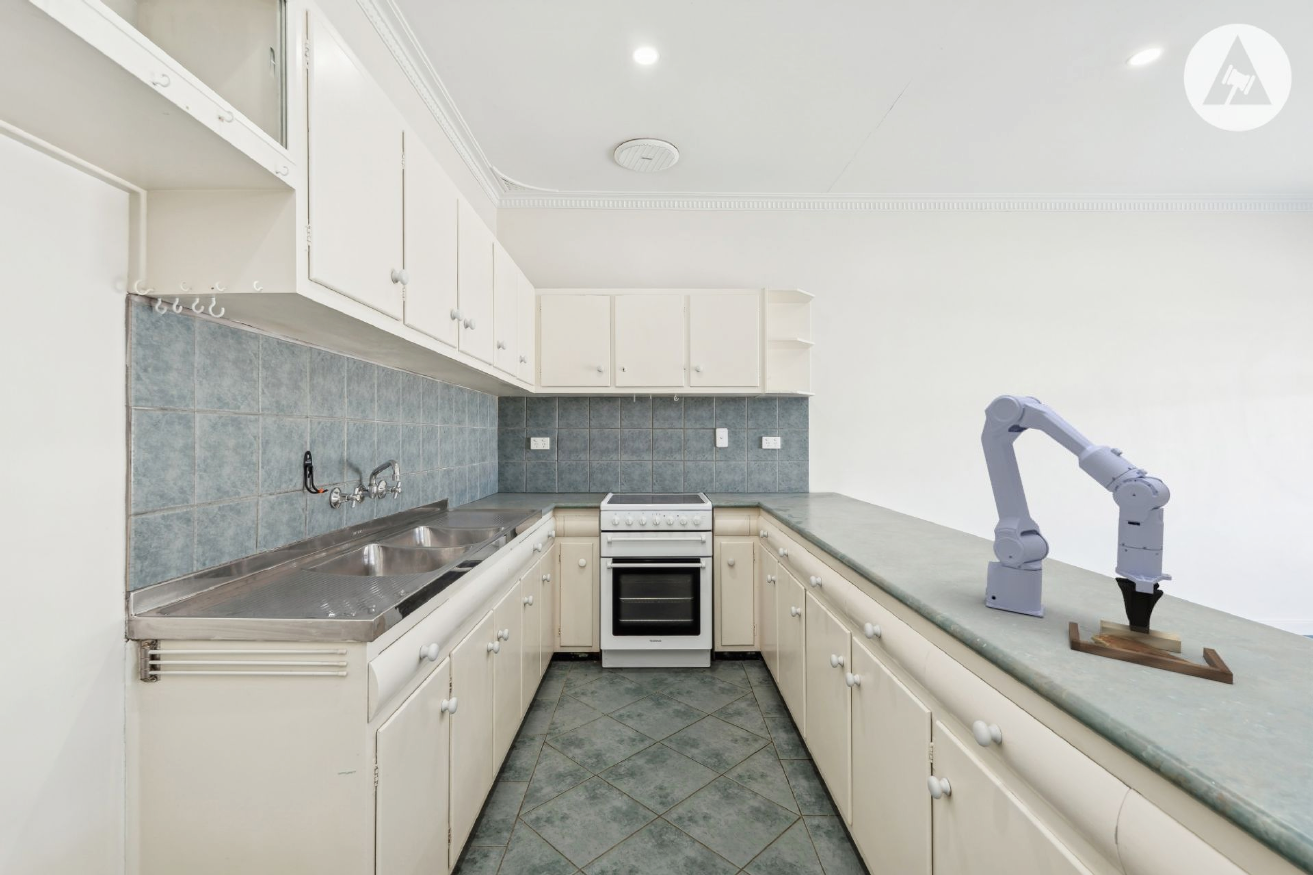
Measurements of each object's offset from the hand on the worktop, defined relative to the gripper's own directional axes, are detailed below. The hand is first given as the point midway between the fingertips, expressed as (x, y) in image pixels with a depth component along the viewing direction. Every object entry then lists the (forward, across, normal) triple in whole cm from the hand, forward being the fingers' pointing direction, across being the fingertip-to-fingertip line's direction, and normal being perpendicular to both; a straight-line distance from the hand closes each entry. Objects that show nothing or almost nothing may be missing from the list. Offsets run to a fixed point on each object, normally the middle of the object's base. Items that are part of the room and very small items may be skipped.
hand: (1136, 623), depth 89 cm
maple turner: (+3, 0, 0) cm, 3 cm away
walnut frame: (+3, -6, 0) cm, 6 cm away
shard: (+4, -5, 0) cm, 6 cm away
